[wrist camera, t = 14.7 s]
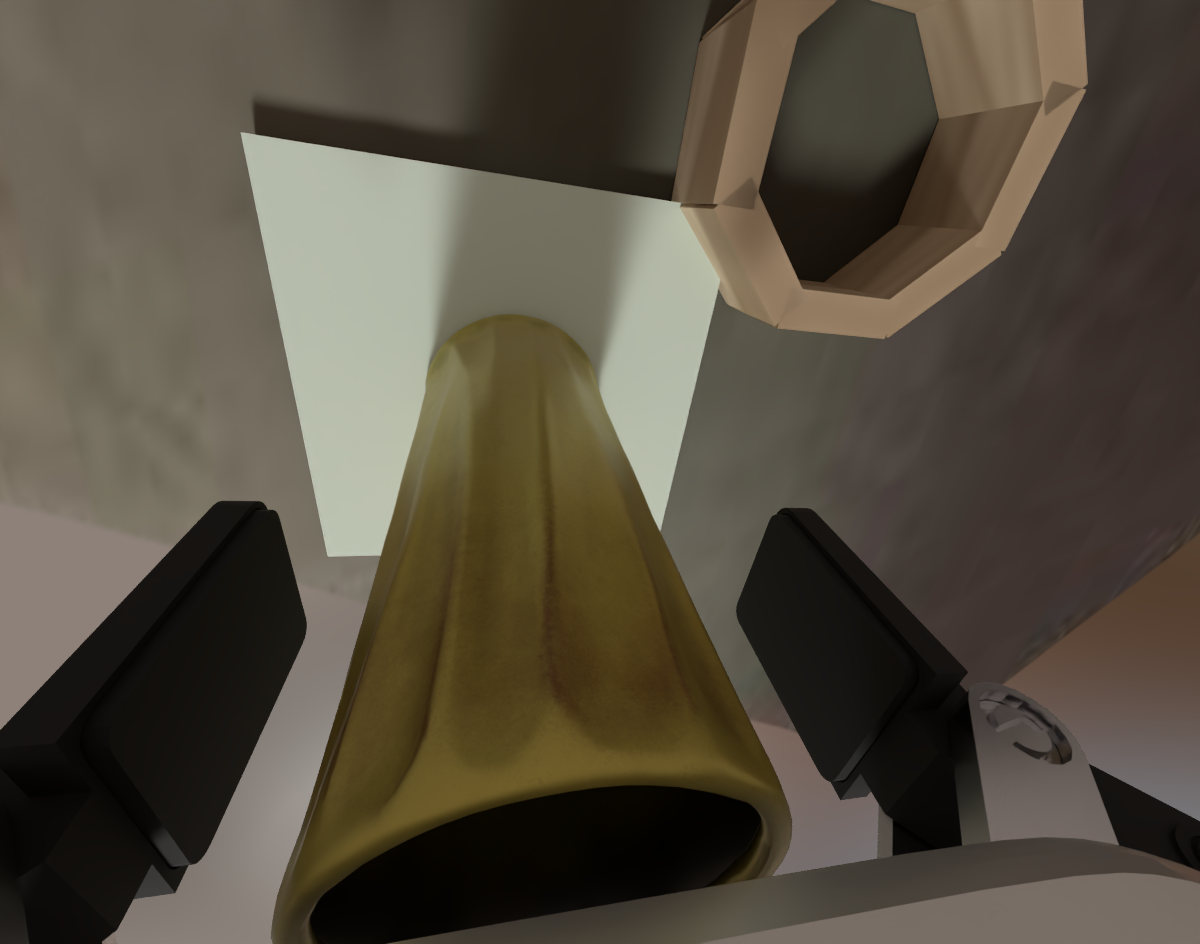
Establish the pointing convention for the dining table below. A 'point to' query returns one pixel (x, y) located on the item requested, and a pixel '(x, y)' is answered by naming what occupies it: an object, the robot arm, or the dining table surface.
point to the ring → (945, 179)
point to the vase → (524, 681)
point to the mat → (464, 306)
